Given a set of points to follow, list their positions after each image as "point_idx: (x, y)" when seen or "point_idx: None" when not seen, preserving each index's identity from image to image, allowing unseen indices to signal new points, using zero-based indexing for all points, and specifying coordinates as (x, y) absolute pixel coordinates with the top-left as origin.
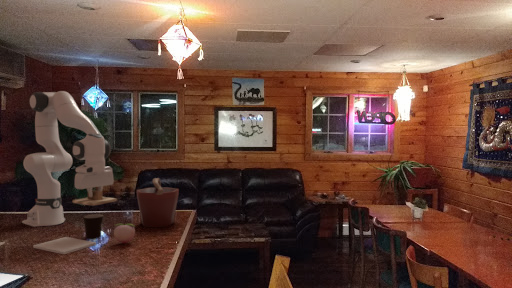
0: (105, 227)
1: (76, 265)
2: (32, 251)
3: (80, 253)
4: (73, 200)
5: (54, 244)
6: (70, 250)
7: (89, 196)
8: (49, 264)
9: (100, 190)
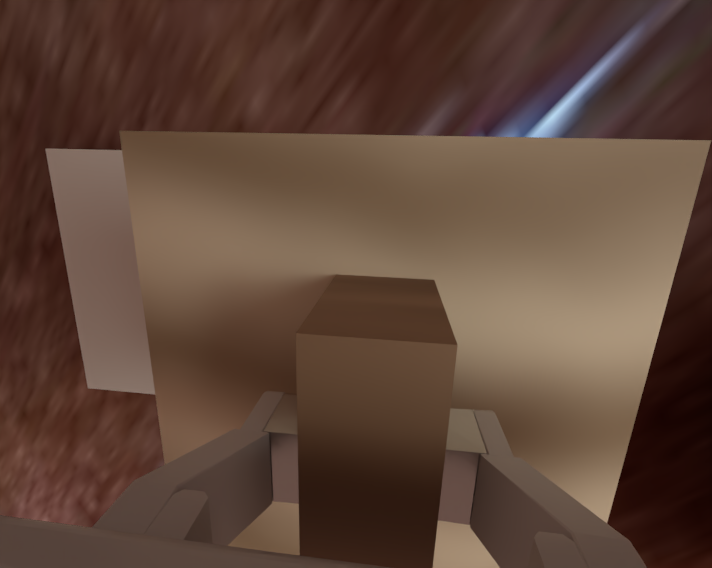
0: (625, 134)
1: (62, 513)
2: (30, 211)
3: (145, 430)
4: (126, 157)
5: (123, 242)
6: (121, 389)
7: (265, 400)
8: (7, 427)
9: (500, 561)
